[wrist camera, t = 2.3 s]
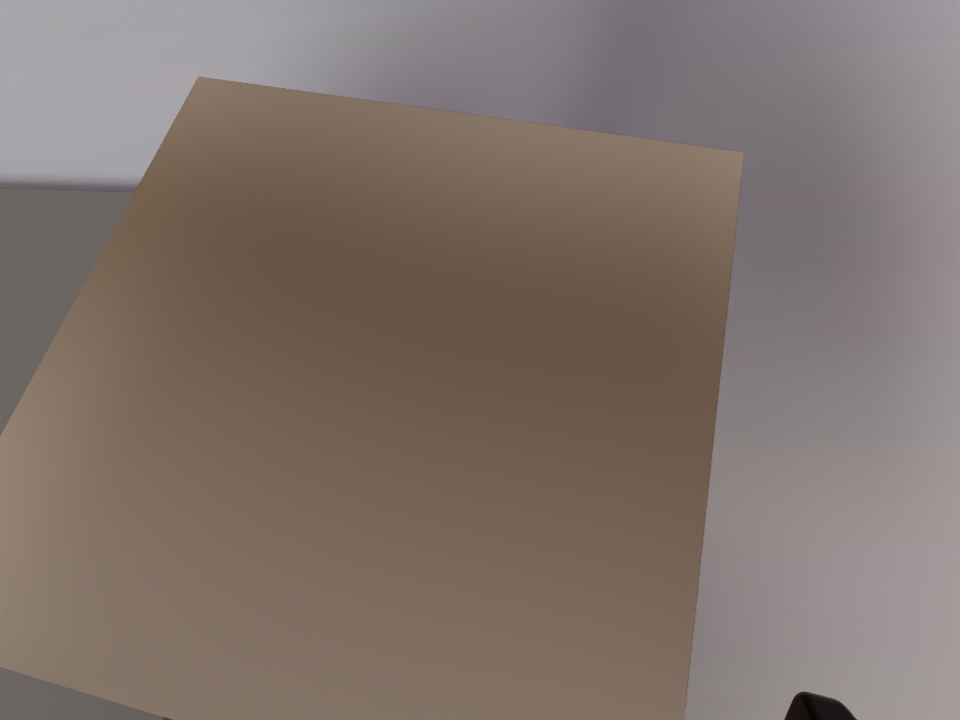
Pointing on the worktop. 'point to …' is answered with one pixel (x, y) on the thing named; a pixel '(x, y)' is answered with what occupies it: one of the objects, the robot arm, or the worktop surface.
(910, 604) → the worktop surface
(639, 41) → the worktop surface
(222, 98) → the walnut block
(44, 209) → the slate mat
